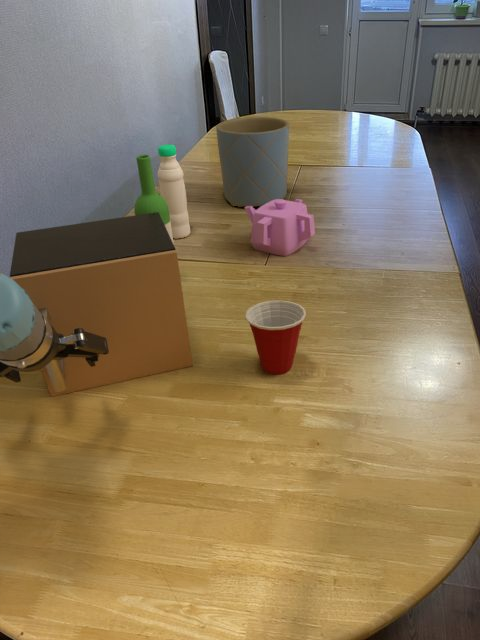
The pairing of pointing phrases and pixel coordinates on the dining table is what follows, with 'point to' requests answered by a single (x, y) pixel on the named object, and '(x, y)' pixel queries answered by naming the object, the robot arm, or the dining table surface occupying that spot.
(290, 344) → the plastic cup
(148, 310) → the freezer door
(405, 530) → the dining table surface
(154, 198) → the wine bottle
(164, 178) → the water bottle
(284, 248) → the teakettle
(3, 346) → the robot arm
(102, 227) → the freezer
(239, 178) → the planter
